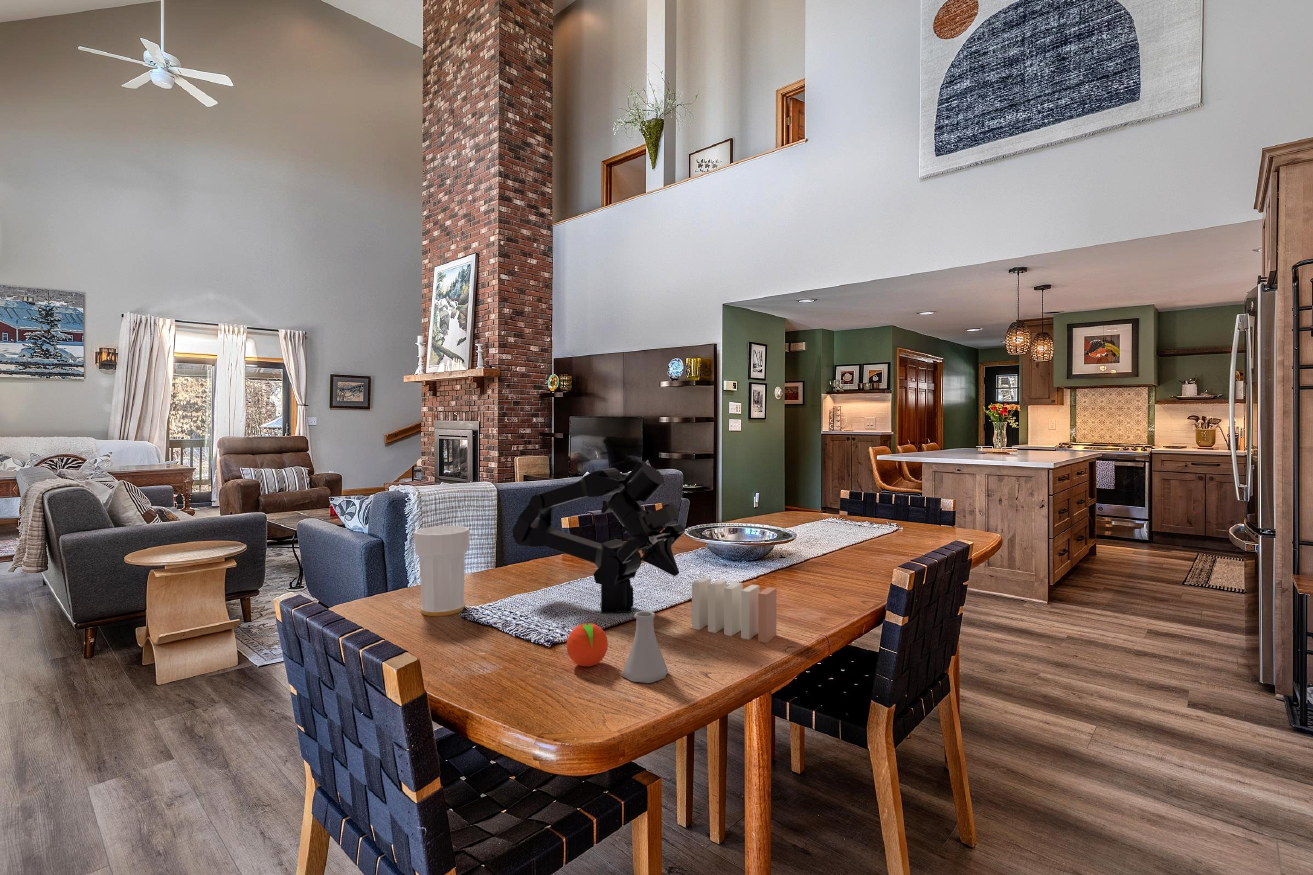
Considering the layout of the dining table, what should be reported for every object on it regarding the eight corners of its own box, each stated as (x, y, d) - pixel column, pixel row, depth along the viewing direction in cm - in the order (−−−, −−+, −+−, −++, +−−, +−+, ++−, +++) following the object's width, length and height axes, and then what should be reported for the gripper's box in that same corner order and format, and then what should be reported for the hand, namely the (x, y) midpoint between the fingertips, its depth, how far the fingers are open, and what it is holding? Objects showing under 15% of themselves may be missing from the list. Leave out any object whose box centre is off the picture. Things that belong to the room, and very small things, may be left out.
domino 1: (691, 628, 125) (691, 582, 125) (703, 621, 129) (703, 577, 129) (699, 629, 124) (699, 584, 124) (710, 622, 129) (710, 578, 128)
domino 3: (724, 634, 122) (724, 587, 121) (735, 627, 126) (735, 582, 125) (731, 636, 121) (731, 589, 120) (742, 628, 125) (742, 583, 125)
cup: (469, 600, 145) (468, 524, 144) (471, 614, 134) (470, 532, 134) (416, 605, 141) (415, 527, 141) (414, 620, 131) (412, 536, 130)
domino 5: (758, 641, 118) (758, 593, 118) (768, 633, 122) (768, 586, 122) (766, 642, 117) (766, 594, 117) (776, 634, 121) (776, 588, 121)
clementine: (613, 672, 104) (613, 629, 103) (571, 677, 102) (570, 633, 101) (603, 655, 111) (603, 614, 111) (563, 659, 109) (563, 618, 109)
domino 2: (707, 631, 123) (707, 585, 123) (719, 624, 128) (719, 579, 127) (715, 632, 123) (715, 586, 122) (726, 625, 127) (726, 580, 126)
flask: (652, 688, 98) (651, 623, 97) (613, 678, 102) (613, 616, 101) (675, 672, 104) (675, 611, 104) (638, 663, 108) (638, 604, 107)
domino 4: (741, 637, 120) (741, 590, 119) (751, 630, 124) (751, 584, 124) (748, 639, 119) (748, 591, 119) (759, 631, 123) (759, 585, 123)
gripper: (629, 495, 124) (678, 559, 119) (677, 486, 140) (722, 542, 134) (597, 531, 128) (643, 594, 123) (647, 519, 144) (689, 574, 139)
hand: (677, 574), depth 130 cm, fingers closed
